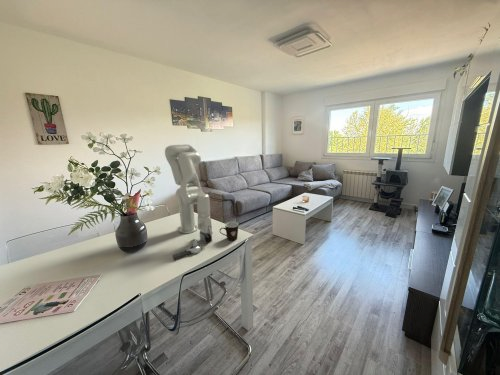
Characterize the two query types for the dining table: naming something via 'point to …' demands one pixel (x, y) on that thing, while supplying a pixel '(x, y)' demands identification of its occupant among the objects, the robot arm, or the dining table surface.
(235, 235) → the coffee mug
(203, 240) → the socket
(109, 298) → the dining table surface
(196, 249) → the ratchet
